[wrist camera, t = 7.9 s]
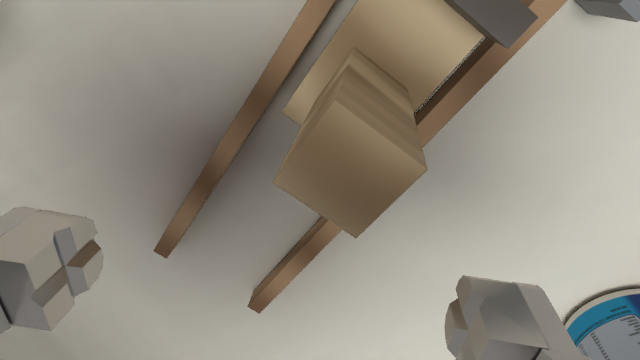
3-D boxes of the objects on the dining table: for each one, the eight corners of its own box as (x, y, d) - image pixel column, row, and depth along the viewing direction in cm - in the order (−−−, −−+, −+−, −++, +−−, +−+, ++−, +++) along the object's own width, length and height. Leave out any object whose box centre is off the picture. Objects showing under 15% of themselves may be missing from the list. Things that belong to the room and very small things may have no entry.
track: (264, 297, 28) (259, 313, 26) (164, 237, 26) (153, 250, 25) (572, -23, 15) (590, -23, 14) (418, -172, 14) (422, -187, 13)
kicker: (363, 153, 20) (351, 282, 12) (290, 100, 20) (218, 197, 11) (494, 6, 16) (627, 39, 7) (407, -72, 15) (445, -137, 7)
